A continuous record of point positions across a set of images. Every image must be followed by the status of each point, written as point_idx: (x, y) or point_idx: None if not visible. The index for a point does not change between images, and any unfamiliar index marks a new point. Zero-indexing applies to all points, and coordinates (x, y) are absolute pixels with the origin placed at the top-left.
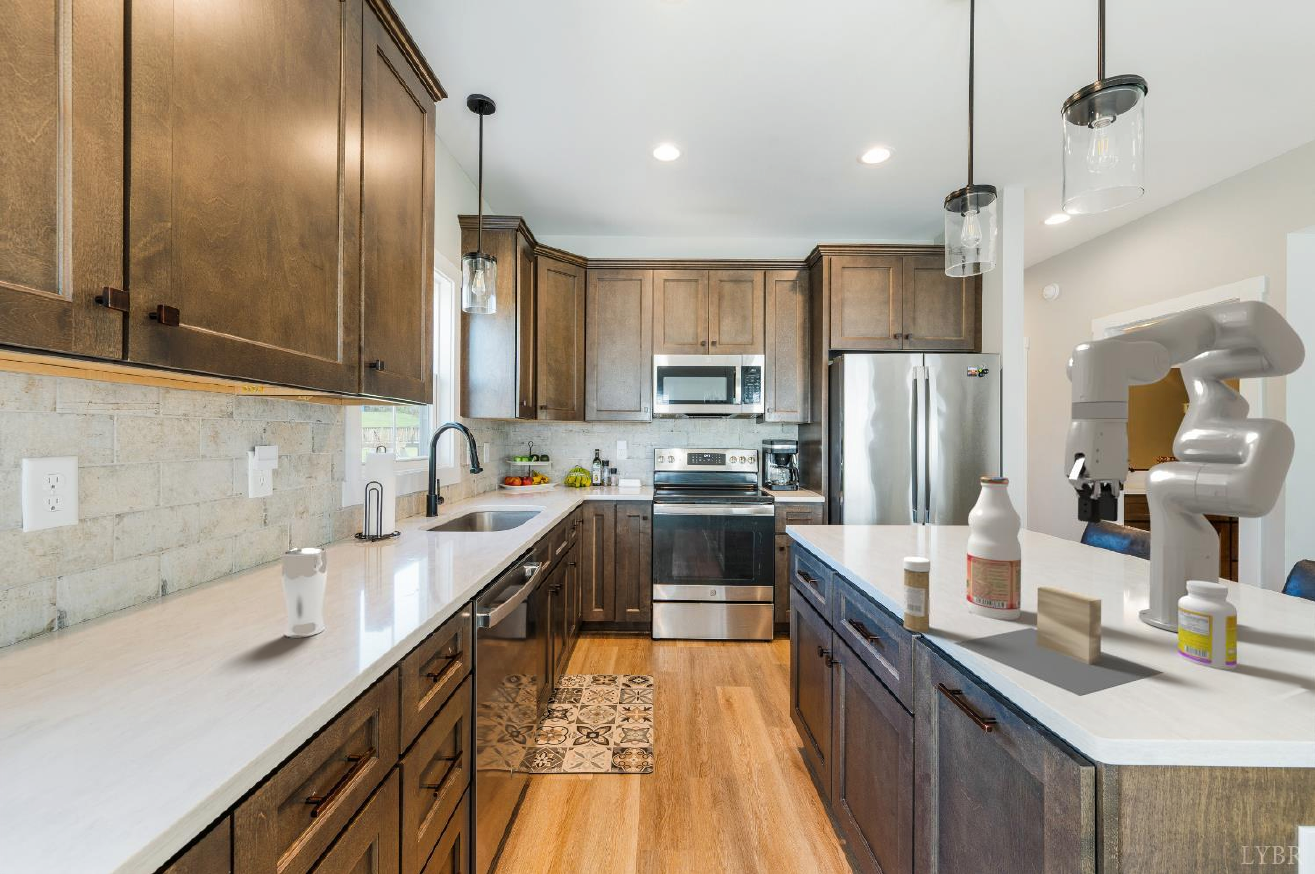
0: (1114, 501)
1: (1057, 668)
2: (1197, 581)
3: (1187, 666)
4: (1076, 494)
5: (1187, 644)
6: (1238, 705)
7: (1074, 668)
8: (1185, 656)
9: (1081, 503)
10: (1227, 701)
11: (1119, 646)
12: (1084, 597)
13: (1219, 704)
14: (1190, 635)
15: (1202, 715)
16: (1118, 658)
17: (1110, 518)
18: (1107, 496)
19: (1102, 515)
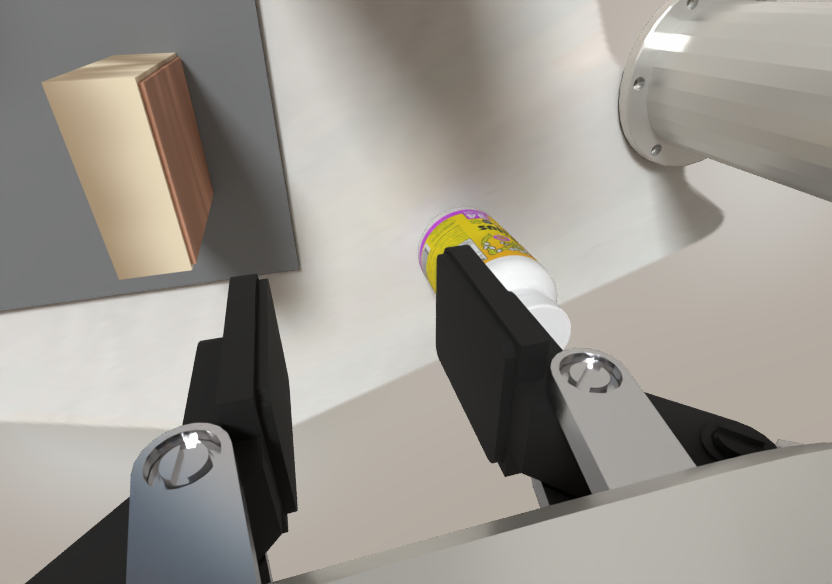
0: (485, 452)
1: (36, 199)
2: (550, 316)
3: (403, 245)
4: (132, 471)
5: (428, 256)
6: (296, 366)
7: (90, 211)
8: (423, 239)
9: (189, 415)
10: (294, 355)
11: (387, 123)
12: (144, 242)
13: None
14: (434, 272)
15: (189, 381)
16: (277, 195)
17: (438, 344)
18: (513, 439)
19: (447, 308)
